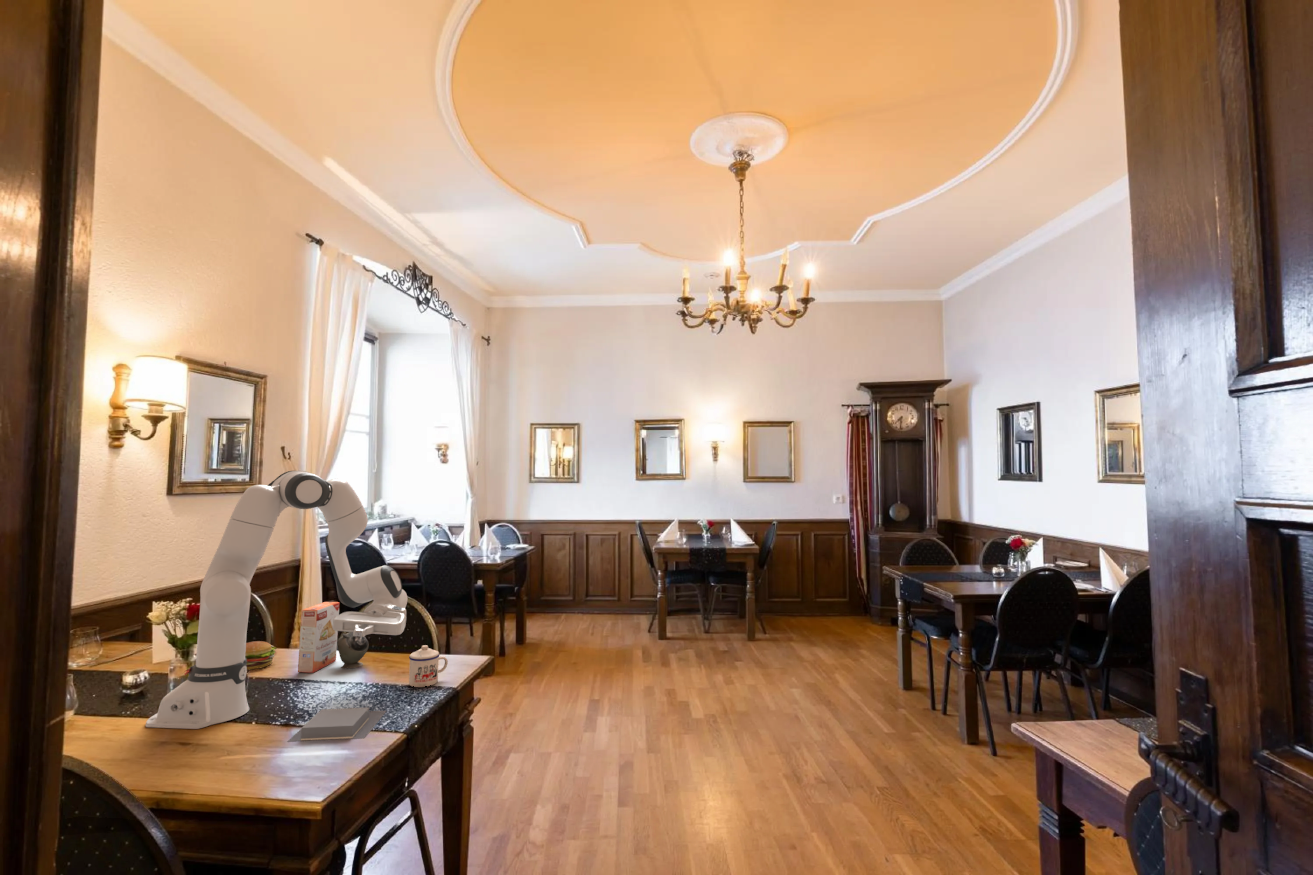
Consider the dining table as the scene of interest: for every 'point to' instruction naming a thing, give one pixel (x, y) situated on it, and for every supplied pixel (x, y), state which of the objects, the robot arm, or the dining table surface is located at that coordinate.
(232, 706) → the robot arm
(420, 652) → the teacup with lid
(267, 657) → the food
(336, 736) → the glazed tile
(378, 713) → the felt mat
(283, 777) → the dining table surface
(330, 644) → the cracker box
